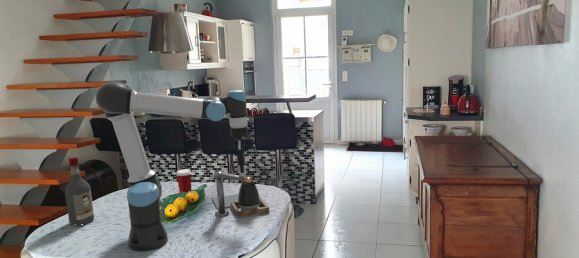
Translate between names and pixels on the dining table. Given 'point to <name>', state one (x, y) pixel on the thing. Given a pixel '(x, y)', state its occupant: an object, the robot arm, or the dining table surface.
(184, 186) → the paper cup
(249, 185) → the dark grey rounded cone
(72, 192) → the liquor
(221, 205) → the post
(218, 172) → the clip
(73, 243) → the dining table surface
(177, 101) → the robot arm
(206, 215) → the dining table surface
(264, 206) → the cradle
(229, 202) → the mat
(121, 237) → the dining table surface
